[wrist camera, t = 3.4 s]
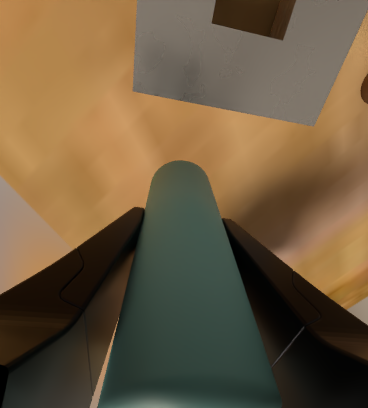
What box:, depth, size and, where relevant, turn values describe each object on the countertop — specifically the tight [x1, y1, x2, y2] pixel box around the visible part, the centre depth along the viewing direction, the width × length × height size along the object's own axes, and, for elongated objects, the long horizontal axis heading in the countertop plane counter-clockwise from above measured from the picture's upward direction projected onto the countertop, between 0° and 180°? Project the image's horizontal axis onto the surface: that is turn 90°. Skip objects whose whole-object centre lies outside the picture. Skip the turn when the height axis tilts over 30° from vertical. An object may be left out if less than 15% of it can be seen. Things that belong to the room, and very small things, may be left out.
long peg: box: [97, 161, 282, 408], centre depth 8 cm, size 3×3×9 cm
